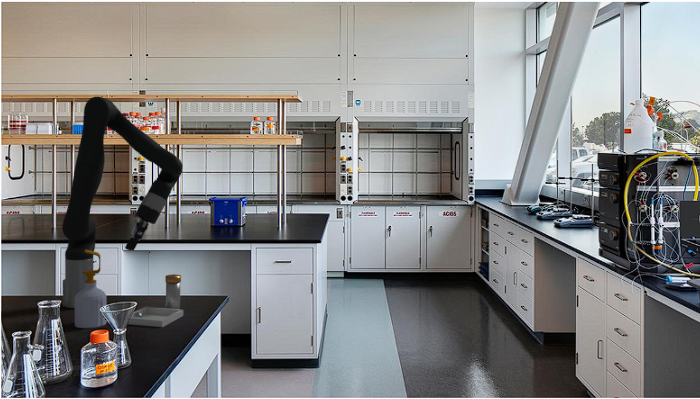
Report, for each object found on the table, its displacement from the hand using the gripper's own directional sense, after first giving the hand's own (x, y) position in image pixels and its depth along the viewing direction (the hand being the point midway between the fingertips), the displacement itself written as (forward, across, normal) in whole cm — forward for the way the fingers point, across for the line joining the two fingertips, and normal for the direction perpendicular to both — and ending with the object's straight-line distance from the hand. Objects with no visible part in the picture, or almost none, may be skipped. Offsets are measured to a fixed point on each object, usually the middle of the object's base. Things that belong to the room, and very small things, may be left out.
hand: (128, 249), depth 198 cm
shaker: (+14, +2, +23) cm, 27 cm away
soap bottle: (+27, +10, 0) cm, 29 cm away
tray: (+19, +12, +16) cm, 28 cm away
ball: (+20, +13, +12) cm, 27 cm away
